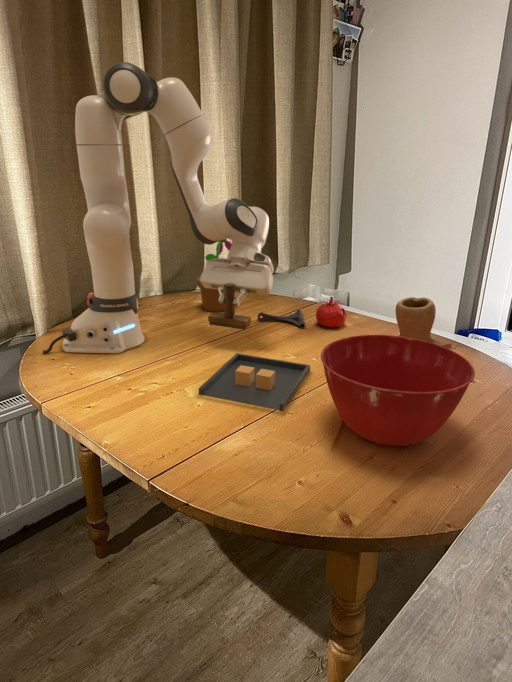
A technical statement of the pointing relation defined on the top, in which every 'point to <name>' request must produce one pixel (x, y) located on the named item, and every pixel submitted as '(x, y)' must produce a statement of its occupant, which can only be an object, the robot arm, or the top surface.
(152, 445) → the top surface
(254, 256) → the robot arm
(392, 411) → the mixing bowl
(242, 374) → the bread cube
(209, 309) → the flowerpot
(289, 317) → the dark grey scraper
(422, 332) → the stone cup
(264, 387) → the bread cube
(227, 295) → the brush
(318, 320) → the pomegranate
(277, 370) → the tray
